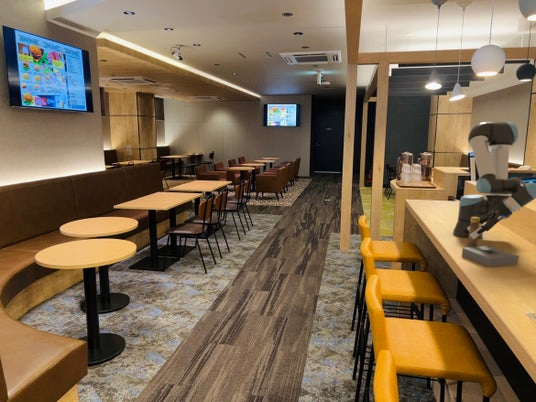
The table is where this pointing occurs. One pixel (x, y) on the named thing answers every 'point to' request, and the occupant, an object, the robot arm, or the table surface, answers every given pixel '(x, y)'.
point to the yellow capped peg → (473, 227)
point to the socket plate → (490, 256)
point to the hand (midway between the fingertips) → (469, 233)
